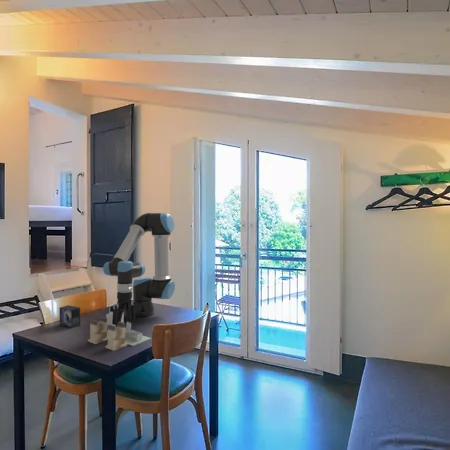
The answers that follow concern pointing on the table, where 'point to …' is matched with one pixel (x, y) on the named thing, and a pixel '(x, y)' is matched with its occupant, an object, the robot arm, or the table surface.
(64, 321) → the small box
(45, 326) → the table surface
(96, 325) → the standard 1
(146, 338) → the mat
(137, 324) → the table surface
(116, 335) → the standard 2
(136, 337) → the rail
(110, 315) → the medicine bottle
